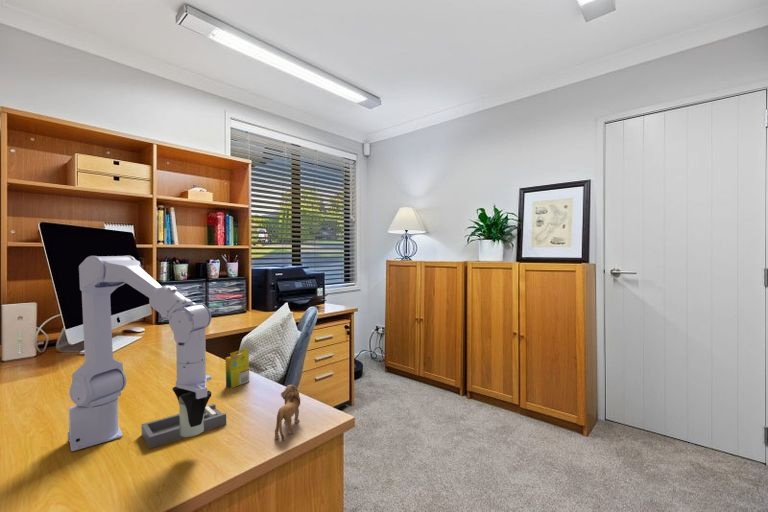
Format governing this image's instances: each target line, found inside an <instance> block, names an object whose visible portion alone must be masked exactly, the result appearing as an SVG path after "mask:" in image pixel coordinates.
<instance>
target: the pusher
mask: <svg viewBox="0 0 768 512" xmlns="http://www.w3.org/2000/svg"><path fill="white" fill-rule="evenodd" d="M206 406H207V407H205V411H204V418H209V417H213V416H216V413H215V412H214V411H213V410H212V409H211V408H210V407H209V405H206Z"/></svg>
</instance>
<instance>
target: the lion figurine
mask: <svg viewBox="0 0 768 512" xmlns="http://www.w3.org/2000/svg"><path fill="white" fill-rule="evenodd" d="M280 396H281V398H283V400H284V405H283V406H281V407H280V408H279V409H278V412H277V415H276V425H275V430H274V439H275V440H279V438H280V437H281V442H284V441H285V436H284V433H283V430H282V429H283V428H282V427H283V426H282V423H283V424H286V425H287V428H286V429H287V431H288V434H290V435H294V434H295V430H294V429H292V420H293V419H292V417H293V416H294V423H300V419H299V414H300V405H301V397H300V392H299V389H298V388H297V387H296V385H294V384H287V386H286V387H285V388H284V390H283V391H281V392H280ZM283 419H284V421H283ZM279 434H280V435H279Z"/></svg>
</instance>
